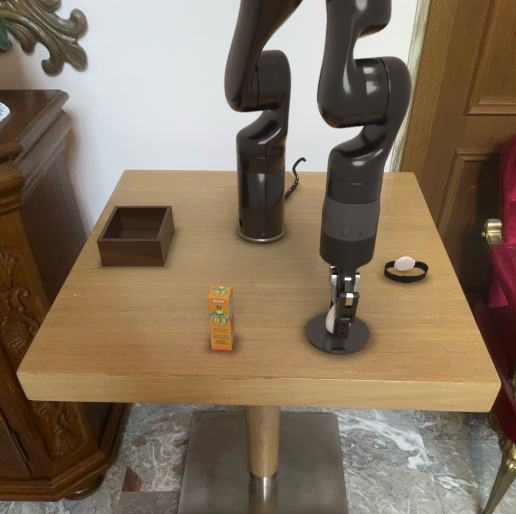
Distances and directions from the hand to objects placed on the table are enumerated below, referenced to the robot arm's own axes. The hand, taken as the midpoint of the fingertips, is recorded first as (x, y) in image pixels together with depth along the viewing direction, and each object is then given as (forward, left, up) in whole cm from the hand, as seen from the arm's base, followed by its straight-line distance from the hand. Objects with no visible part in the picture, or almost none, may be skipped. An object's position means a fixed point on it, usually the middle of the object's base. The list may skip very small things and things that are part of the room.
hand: (338, 325), depth 81 cm
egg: (0, 0, -1) cm, 1 cm away
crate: (-15, -43, -2) cm, 46 cm away
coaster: (0, 0, -2) cm, 2 cm away
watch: (-20, +8, -2) cm, 22 cm away
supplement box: (+8, -16, -2) cm, 18 cm away
